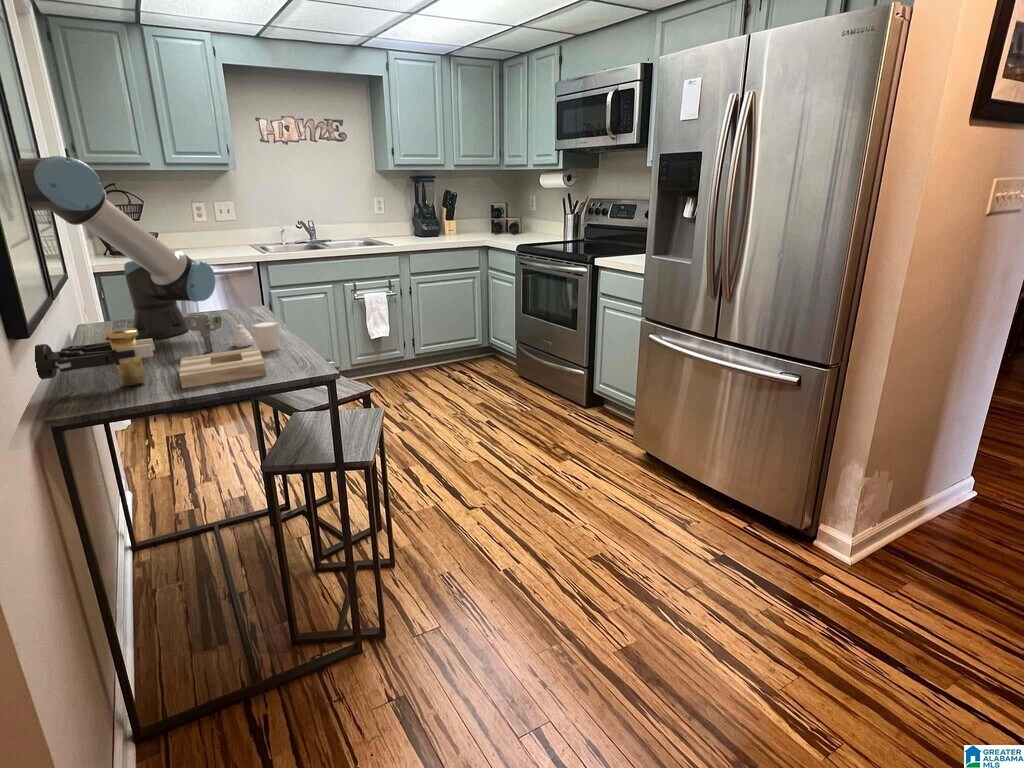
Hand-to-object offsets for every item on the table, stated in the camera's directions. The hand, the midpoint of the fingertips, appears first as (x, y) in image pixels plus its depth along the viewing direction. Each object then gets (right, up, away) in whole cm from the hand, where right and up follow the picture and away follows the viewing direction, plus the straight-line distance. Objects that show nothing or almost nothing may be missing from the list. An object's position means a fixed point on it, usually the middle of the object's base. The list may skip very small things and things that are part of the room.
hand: (152, 347), depth 138 cm
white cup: (+16, +1, +27) cm, 32 cm away
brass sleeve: (-5, -8, 0) cm, 9 cm away
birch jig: (+13, -6, +8) cm, 16 cm away
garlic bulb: (+7, +2, +31) cm, 32 cm away
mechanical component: (0, 0, +26) cm, 26 cm away
